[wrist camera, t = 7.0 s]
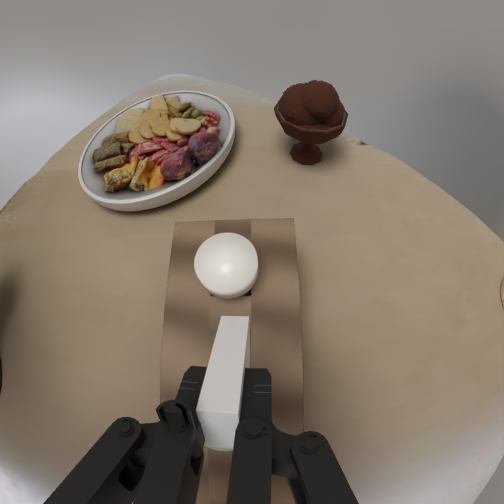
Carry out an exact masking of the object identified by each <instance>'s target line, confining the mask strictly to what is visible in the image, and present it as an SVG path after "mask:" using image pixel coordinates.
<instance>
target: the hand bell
mask: <svg viewBox="0 0 504 504" xmlns="http://www.w3.org/2000/svg"><path fill="white" fill-rule="evenodd" d="M500 294H501V301H502V305H503V308H504V279H503V280H502V283H501V290H500Z"/></svg>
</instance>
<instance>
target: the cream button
mask: <svg viewBox="0 0 504 504" xmlns="http://www.w3.org/2000/svg"><path fill="white" fill-rule="evenodd" d="M194 268H195V272H196V275H197V277H198V278H199V280H200V281H201V283H202V284H203V286H204V287H205V289H206V290H207V291H208V292H209V293H211V294H212V295H214V296H216V297H219V298H223V299H232V298H237V297H240V296H249V292H250V289H251V288H252V287H253V285H254V284H255V282H256V280H257V277H258V258H257V252H256V250H255V248H254V246H253V245H252V243H251V242H250V241H249V240H248V239H246V238H245V237H243V236H241V235H239V234H235V233H220V234H216V235H214V236H212V237H210V238H208V239H207V240H206V241H204V242H203V243H202V245H201V246H200V247H199V249H198V250H197V253H196V255H195V260H194Z"/></svg>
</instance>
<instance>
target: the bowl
mask: <svg viewBox="0 0 504 504" xmlns="http://www.w3.org/2000/svg"><path fill="white" fill-rule="evenodd" d="M234 137H235V119H234V115H233V112H232V110H231V109H230V107H229V106H228V105H227V104H226V103H225V102H224V101H223V100H221V99H220V98H218V97H216V96H214V95H211V94H208V93H204V92H199V91H173V92H167V93H162V94H158V95H154V96H151V97H148V98H146V99H143V100H141V101H138V102H136V103H134V104H132V105H130V106H128V107H127V108H125V109H123V110H122V111H120V112H119V113H117V114H116V115H114V116H113V117H112V118H110V119H109V120H108V121H107V122H106V123H105V124H104V125H102V126H101V127H100V128H99V130H98V131H97V132H96V133H95V134H94V135H93V137H92V138H91V139H90V141H89V142H88V144H87V145H86V147H85V149H84V151H83V153H82V156H81V159H80V162H79V168H78V177H79V181H80V184H81V186H82V188H83V190H84V191H85V192H86V194H87V195H88V196H89V197H90V198H91V199H92V200H94V201H95V202H96V203H98V204H100V205H102V206H104V207H106V208H109V209H113V210H118V211H141V210H147V209H152V208H156V207H159V206H162V205H165V204H168V203H170V202H173V201H175V200H177V199H179V198H181V197H183V196H185V195H187V194H189V193H190V192H192V191H193V190H195V189H196V188H198V187H199V186H200V185H202V184H203V183H204V182H206V181H207V180H208V179H209V178H210V177H211V176H212V175H213V174H214V173H215V172H216V171H217V170H218V169H219V167H220V166H221V165H222V164H223V162H224V161H225V159H226V158H227V156H228V154H229V152H230V150H231V148H232V145H233V142H234Z"/></svg>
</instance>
